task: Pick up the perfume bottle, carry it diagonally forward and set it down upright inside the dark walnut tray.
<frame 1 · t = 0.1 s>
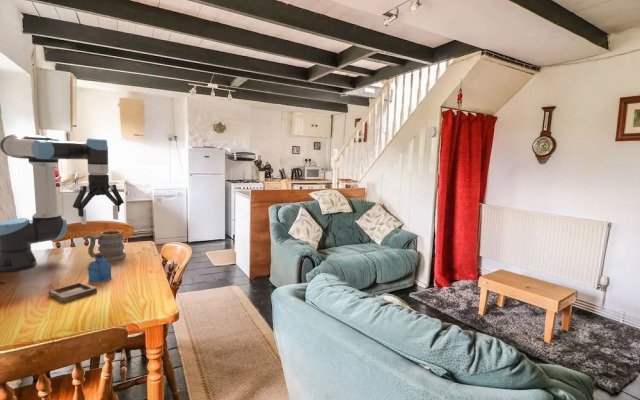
hand: (100, 221, 148), 28 cm above the table, fingers open, 13 cm apart
tankard: (104, 259, 181), on the table
perfume bottle: (100, 279, 154), on the table
walnut tray: (73, 293, 137), on the table
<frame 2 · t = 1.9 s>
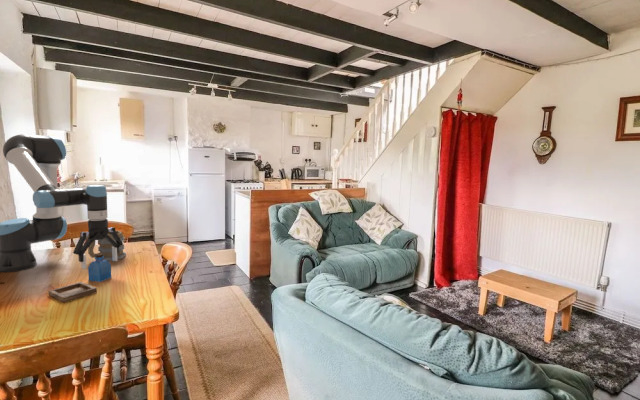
hand: (100, 264, 153), 7 cm above the table, fingers open, 13 cm apart
nothing on the table moved.
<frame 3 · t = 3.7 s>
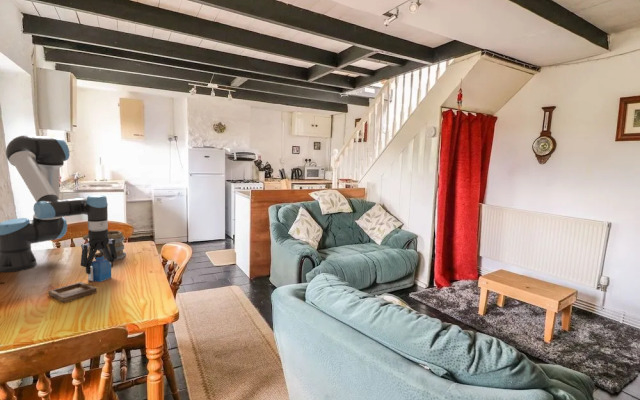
hand: (100, 277, 154), 1 cm above the table, fingers closed on perfume bottle, 7 cm apart
perfume bottle: (100, 279, 154), on the table, touching gripper
everything else where it was.
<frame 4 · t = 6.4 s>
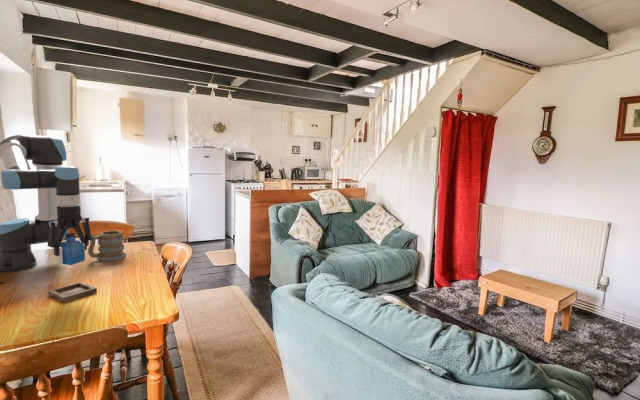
hand: (71, 260, 135), 14 cm above the table, fingers closed on perfume bottle, 7 cm apart
perfume bottle: (71, 262, 135), point 14 cm above the table, touching gripper
everything else where it was.
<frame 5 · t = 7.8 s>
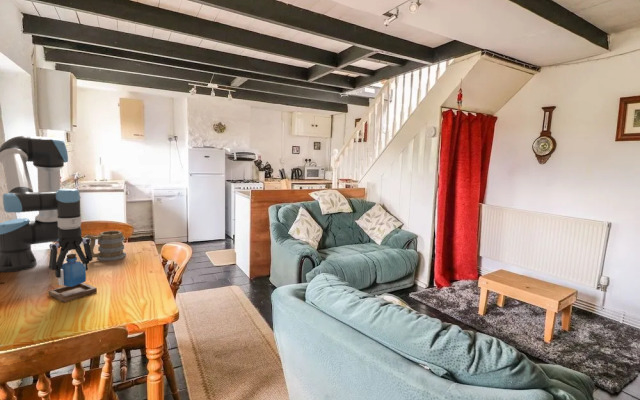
hand: (72, 281, 136), 5 cm above the table, fingers closed on perfume bottle, 7 cm apart
perfume bottle: (72, 283, 137), point 5 cm above the table, touching gripper
everything else where it was.
when the fingers open (3 cm above the table, at t = 9.2 s): perfume bottle drops 1 cm, resting on walnut tray.
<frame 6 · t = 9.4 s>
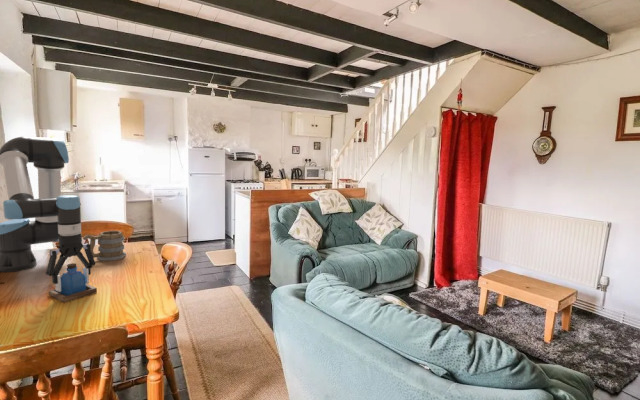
hand: (72, 286, 137), 3 cm above the table, fingers open, 9 cm apart
perfume bottle: (73, 293, 137), resting on walnut tray
everything else where it was.
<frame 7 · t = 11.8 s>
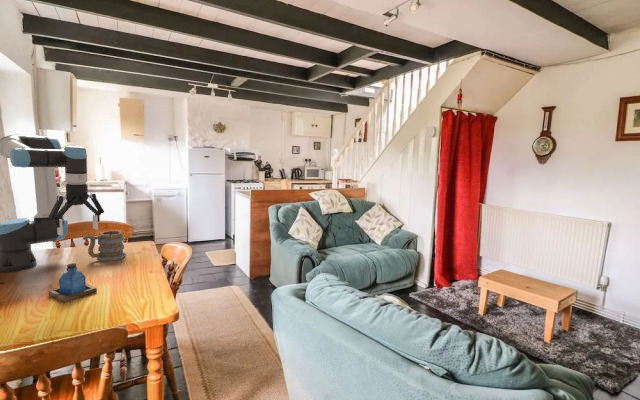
hand: (78, 231, 144), 24 cm above the table, fingers open, 13 cm apart
nothing on the table moved.
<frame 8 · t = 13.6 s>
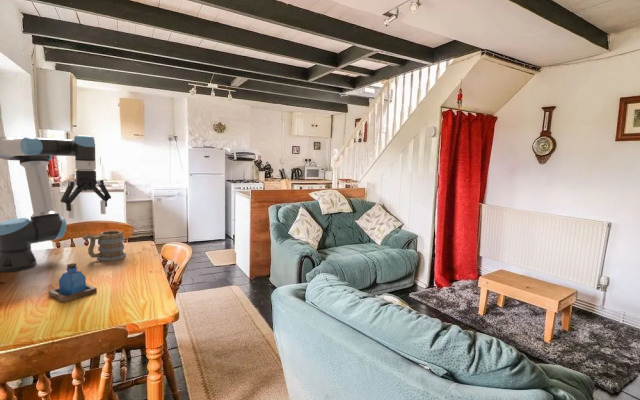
hand: (87, 215, 154), 29 cm above the table, fingers open, 13 cm apart
nothing on the table moved.
at the end: perfume bottle inside the target area on the walnut tray (0.0 cm from its centre), point 0.4 cm above the walnut tray's base; perfume bottle tilted 0°; the gripper is holding nothing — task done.
